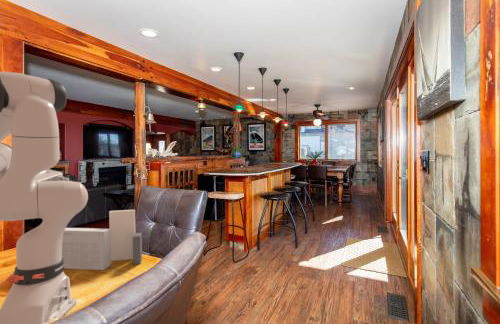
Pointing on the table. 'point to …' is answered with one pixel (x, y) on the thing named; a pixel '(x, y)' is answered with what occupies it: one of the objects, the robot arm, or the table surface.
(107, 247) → the skincare box
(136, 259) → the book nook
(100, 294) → the table surface
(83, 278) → the table surface
